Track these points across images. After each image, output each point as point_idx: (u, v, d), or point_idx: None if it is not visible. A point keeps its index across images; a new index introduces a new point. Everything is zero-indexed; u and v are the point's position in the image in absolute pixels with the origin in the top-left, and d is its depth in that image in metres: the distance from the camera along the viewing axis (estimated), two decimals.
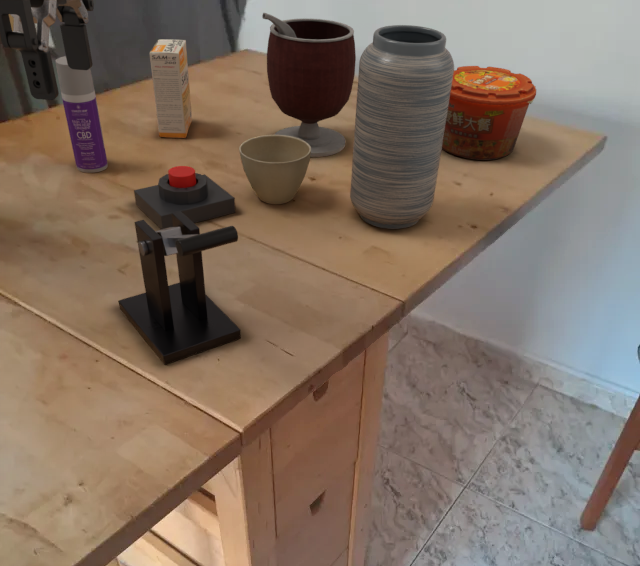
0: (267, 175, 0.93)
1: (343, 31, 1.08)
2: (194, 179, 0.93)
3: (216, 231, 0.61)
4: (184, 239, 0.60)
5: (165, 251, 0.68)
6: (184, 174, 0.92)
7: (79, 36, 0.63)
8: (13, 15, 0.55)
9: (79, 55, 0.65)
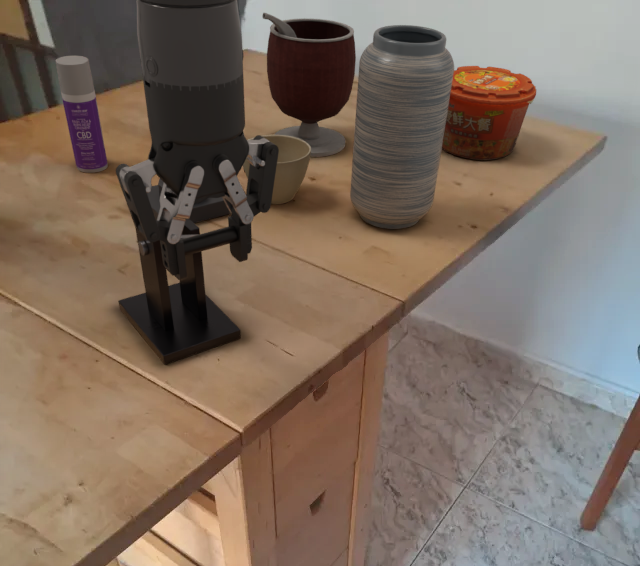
0: None
1: (343, 31, 1.08)
2: None
3: (216, 231, 0.61)
4: (184, 239, 0.60)
5: None
6: None
7: (237, 232, 0.62)
8: (161, 204, 0.58)
9: (236, 247, 0.63)
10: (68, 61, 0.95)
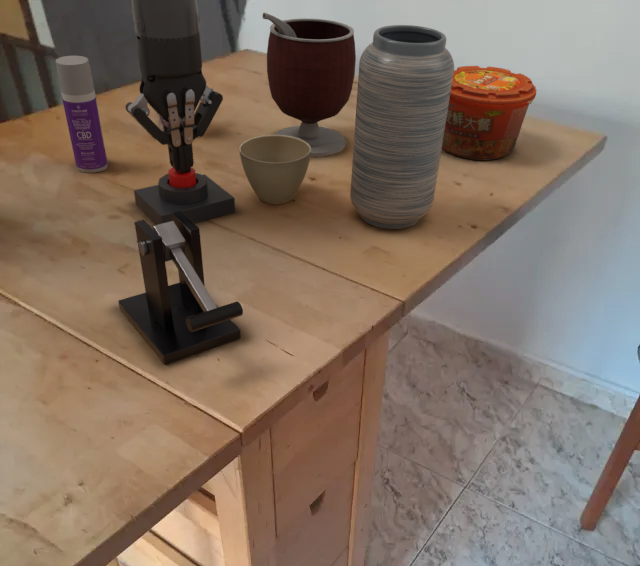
0: (267, 175, 0.93)
1: (343, 31, 1.08)
2: (194, 179, 0.93)
3: (225, 312, 0.66)
4: (196, 321, 0.65)
5: None
6: (184, 174, 0.92)
7: None
8: (162, 123, 0.89)
9: None
10: (68, 61, 0.95)
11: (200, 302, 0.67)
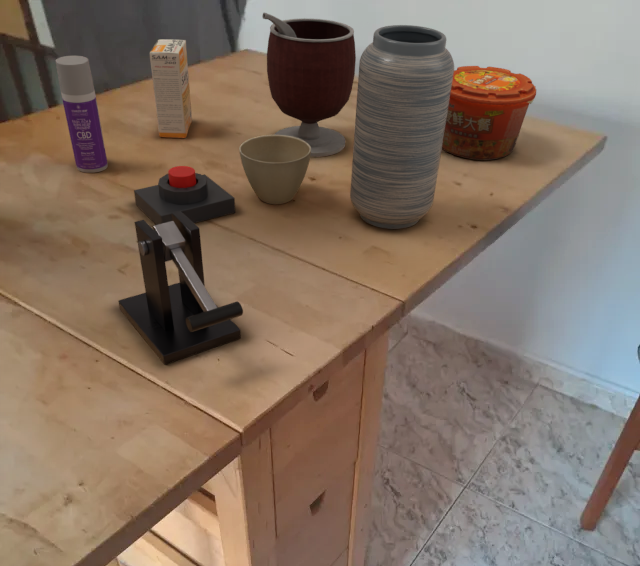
0: (267, 175, 0.93)
1: (343, 31, 1.08)
2: (194, 179, 0.93)
3: (225, 312, 0.66)
4: (196, 321, 0.65)
5: None
6: (184, 174, 0.92)
7: None
8: None
9: None
10: (68, 61, 0.95)
11: (200, 302, 0.67)
